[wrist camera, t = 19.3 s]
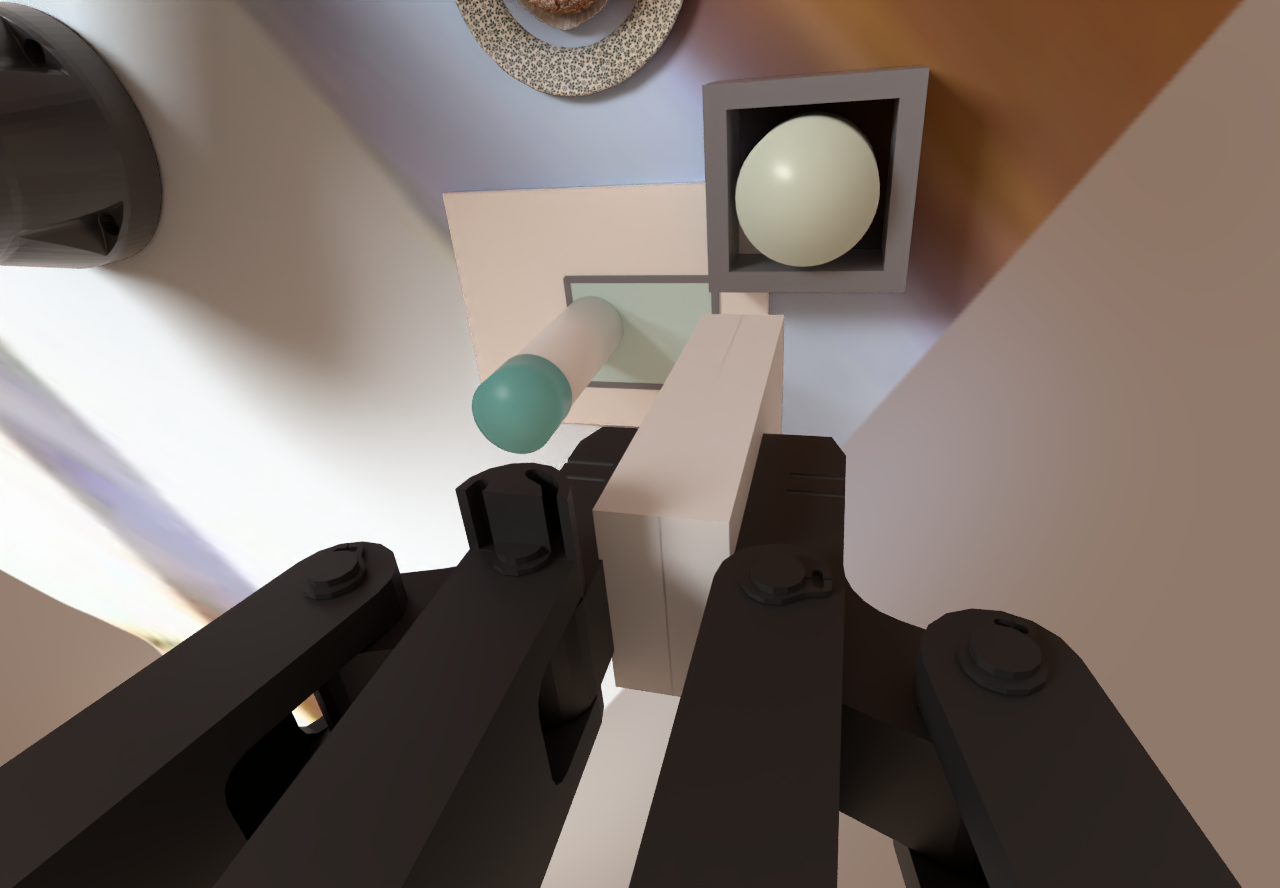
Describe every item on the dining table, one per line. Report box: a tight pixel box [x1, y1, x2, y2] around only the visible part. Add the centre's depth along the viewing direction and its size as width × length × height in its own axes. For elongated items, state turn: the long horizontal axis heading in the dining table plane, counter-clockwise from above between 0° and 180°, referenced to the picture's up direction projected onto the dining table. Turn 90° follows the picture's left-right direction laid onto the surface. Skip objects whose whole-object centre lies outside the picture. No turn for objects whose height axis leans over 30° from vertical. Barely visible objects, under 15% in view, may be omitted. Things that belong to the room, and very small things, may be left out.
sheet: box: [442, 182, 769, 427], centre depth 40 cm, size 18×14×1 cm
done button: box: [735, 111, 880, 267], centre depth 31 cm, size 6×6×4 cm
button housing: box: [702, 65, 930, 293], centre depth 32 cm, size 9×9×4 cm
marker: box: [472, 296, 624, 454], centre depth 35 cm, size 4×4×12 cm
